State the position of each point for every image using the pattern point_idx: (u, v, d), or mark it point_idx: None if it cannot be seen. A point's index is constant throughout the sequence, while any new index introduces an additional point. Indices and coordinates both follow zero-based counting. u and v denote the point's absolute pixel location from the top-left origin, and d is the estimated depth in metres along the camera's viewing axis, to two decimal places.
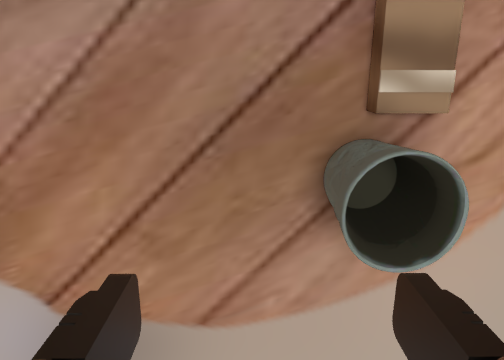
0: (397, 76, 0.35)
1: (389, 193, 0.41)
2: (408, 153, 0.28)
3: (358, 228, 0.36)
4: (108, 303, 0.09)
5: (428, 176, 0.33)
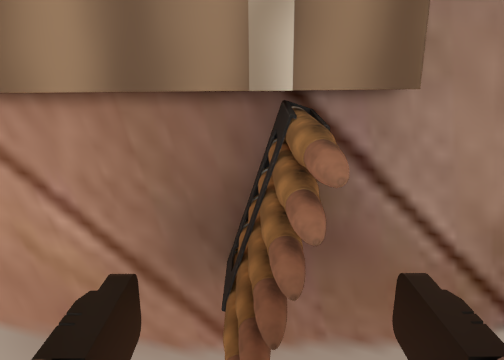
0: None
1: None
2: None
3: None
4: (108, 303, 0.09)
5: None
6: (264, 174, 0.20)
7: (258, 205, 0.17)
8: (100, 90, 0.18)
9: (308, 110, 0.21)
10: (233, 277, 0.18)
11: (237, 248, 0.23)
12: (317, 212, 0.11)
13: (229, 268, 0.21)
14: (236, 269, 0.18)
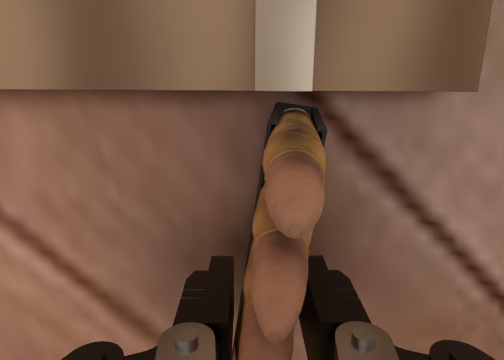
0: None
1: None
2: None
3: None
4: (224, 279, 0.11)
5: None
6: None
7: (249, 245, 0.13)
8: (57, 87, 0.13)
9: (310, 110, 0.16)
10: (235, 339, 0.14)
11: None
12: (284, 274, 0.07)
13: None
14: None
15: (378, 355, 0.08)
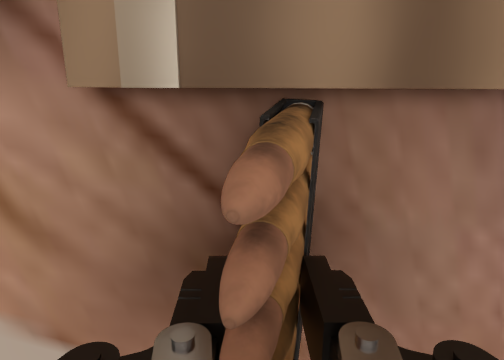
0: None
1: None
2: None
3: None
4: None
5: None
6: None
7: None
8: (375, 86, 0.14)
9: (315, 103, 0.16)
10: None
11: None
12: (249, 263, 0.07)
13: None
14: None
15: (382, 355, 0.08)
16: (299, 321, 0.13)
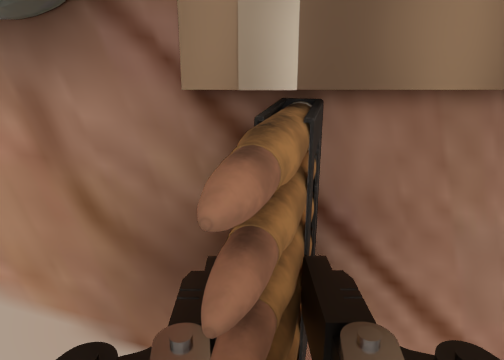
0: None
1: None
2: None
3: None
4: None
5: None
6: None
7: None
8: (495, 87, 0.13)
9: (314, 102, 0.16)
10: None
11: None
12: (232, 269, 0.07)
13: None
14: None
15: (384, 356, 0.08)
16: (302, 324, 0.13)
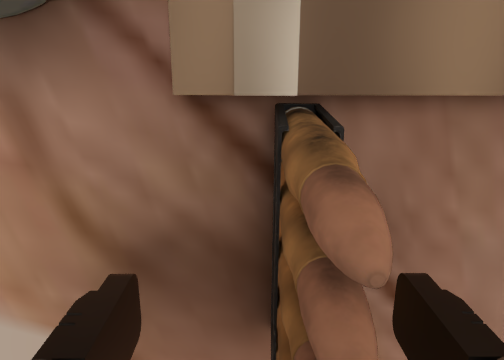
0: None
1: None
2: None
3: None
4: (108, 303, 0.09)
5: None
6: None
7: (275, 265, 0.12)
8: None
9: (313, 107, 0.15)
10: None
11: None
12: (350, 319, 0.05)
13: (271, 341, 0.16)
14: (273, 357, 0.13)
15: None
16: None
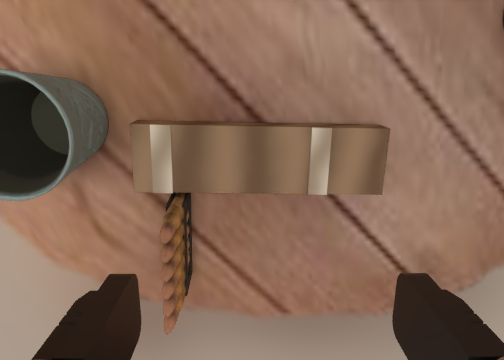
0: (165, 140, 0.37)
1: (52, 149, 0.40)
2: (69, 135, 0.28)
3: None
4: (108, 303, 0.09)
5: None
6: None
7: None
8: (240, 192, 0.39)
9: None
10: None
11: None
12: (166, 250, 0.32)
13: None
14: None
15: None
16: (186, 271, 0.39)
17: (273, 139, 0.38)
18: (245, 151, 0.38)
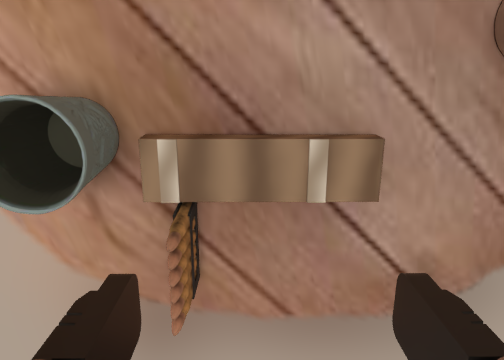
0: (171, 154, 0.40)
1: (67, 162, 0.43)
2: (82, 153, 0.31)
3: (16, 126, 0.36)
4: (108, 303, 0.09)
5: None
6: None
7: None
8: (243, 201, 0.41)
9: None
10: None
11: None
12: (172, 258, 0.35)
13: None
14: None
15: None
16: (192, 275, 0.42)
17: (272, 151, 0.40)
18: (247, 163, 0.40)
